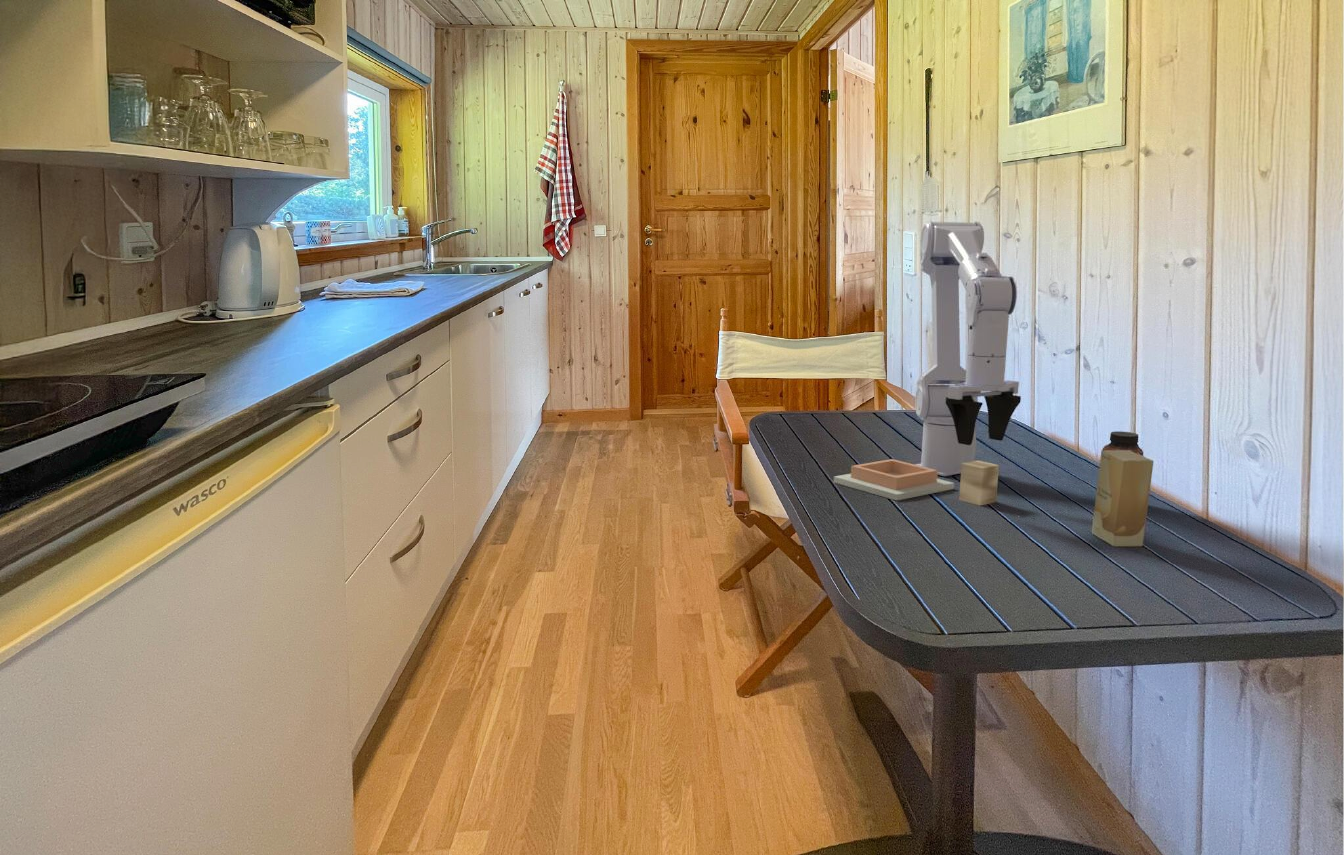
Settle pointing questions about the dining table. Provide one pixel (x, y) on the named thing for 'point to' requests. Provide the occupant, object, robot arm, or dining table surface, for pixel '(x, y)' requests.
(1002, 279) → the robot arm
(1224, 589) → the dining table surface
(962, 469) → the maple peg
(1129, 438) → the supplement bottle
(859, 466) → the collar board
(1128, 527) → the skincare box
